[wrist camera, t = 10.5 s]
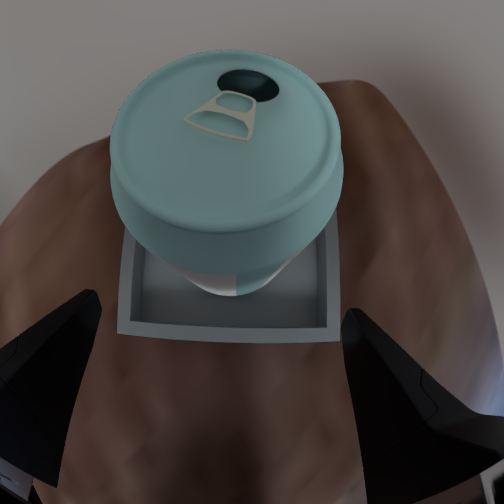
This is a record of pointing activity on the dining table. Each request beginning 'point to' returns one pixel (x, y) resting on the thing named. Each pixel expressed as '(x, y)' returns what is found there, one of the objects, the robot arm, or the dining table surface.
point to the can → (226, 167)
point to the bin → (234, 299)
